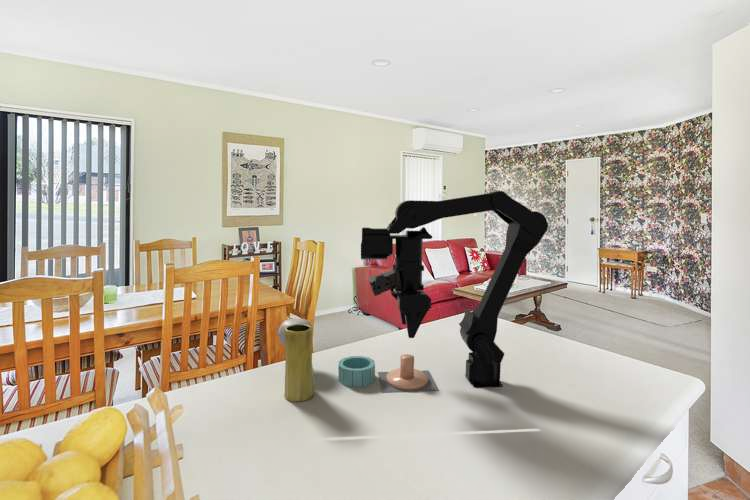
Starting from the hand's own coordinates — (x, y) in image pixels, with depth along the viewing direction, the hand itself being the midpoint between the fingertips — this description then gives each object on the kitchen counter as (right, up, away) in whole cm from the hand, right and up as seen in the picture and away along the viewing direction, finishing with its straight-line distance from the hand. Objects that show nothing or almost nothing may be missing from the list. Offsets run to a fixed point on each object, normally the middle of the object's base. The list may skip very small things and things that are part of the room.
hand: (407, 330), depth 87 cm
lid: (0, -11, +1) cm, 11 cm away
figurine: (-26, -11, +8) cm, 29 cm away
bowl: (-11, -12, +2) cm, 16 cm away
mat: (0, -12, +1) cm, 12 cm away
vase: (-23, -12, -5) cm, 26 cm away
